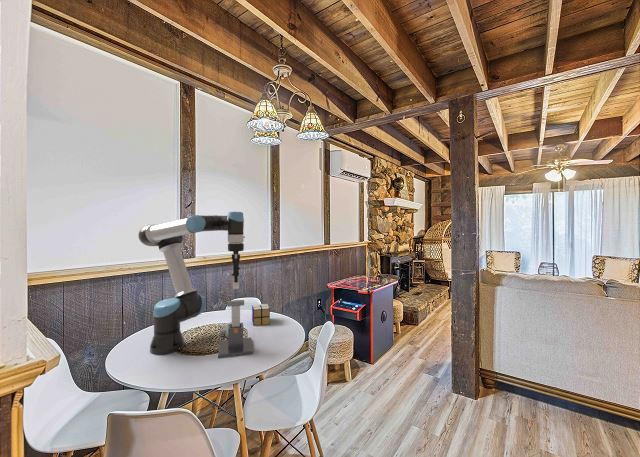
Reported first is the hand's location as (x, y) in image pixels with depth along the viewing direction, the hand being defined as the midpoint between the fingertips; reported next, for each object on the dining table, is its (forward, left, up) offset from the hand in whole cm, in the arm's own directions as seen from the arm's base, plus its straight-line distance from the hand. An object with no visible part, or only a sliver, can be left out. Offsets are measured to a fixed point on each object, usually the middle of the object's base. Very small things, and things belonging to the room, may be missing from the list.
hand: (236, 285), depth 142 cm
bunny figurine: (-4, +20, -32) cm, 38 cm away
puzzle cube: (+15, +33, -32) cm, 48 cm away
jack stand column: (0, 0, -30) cm, 30 cm away
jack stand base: (0, 0, -32) cm, 32 cm away
